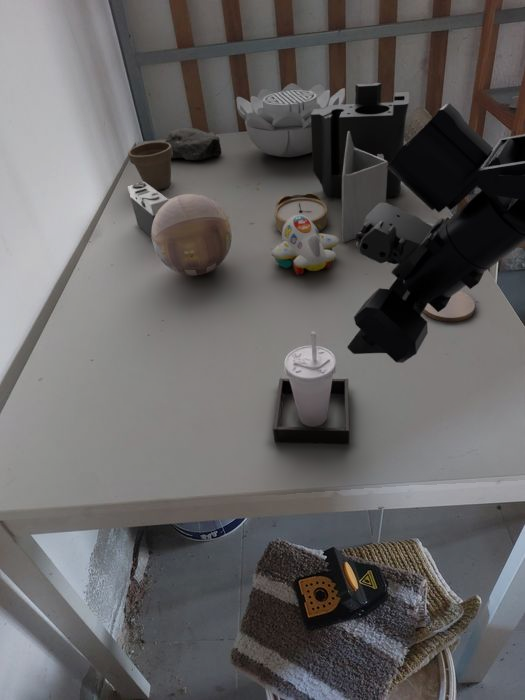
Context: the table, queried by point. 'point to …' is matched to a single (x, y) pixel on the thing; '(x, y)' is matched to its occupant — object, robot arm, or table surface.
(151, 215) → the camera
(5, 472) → the table surface
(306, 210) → the alarm clock
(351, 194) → the grey angular upright piece
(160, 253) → the ornament
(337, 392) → the black square tray
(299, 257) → the toy airplane
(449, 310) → the coaster
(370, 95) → the black machined bracket
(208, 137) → the stone
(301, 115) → the decorative bowl
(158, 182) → the flower pot
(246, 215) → the table surface
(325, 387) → the smoothie
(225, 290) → the table surface
